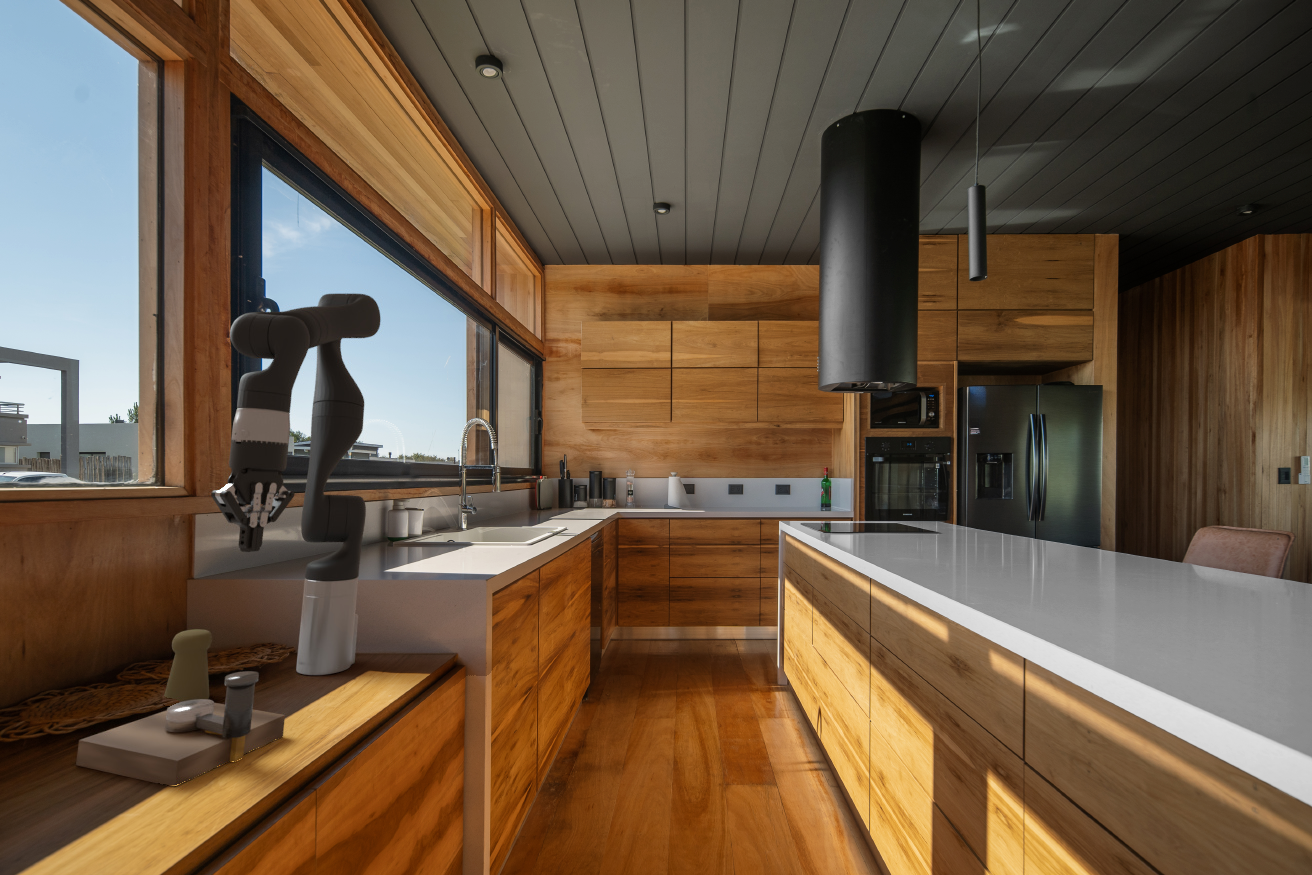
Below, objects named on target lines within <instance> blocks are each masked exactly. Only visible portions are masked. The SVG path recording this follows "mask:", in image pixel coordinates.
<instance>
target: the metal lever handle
mask: <svg viewBox="0 0 1312 875" xmlns="http://www.w3.org/2000/svg"><path fill="white" fill-rule="evenodd" d="M259 674H260V673H259V672H258V671H252V670H251V671H249V670H248V671H247V670H246V671H238V672H232V673H230V674H227V675H226V676H224V686H226V694H225V701H224V705H225V711H224V717H221V716H218V715H214V714H213V710H214V703H215V701H214V700H212V699H197V700H189V701H184V702H180V703H176V704H174V705H172V706H170V707H167V709H166V710H167V715H166V724H165V730H166V731H169V732H186V731H192V730H196V729H200V728H201V729H205V730H208V731H212V732H216V733H219V734H222V737H224V738H237V737H241V736H244V735H247V734H248V733H250V730H251V720H252V710H254V709H253V708H254V699H255V698H254V696H255V690H256V689H255V688H256V683H257V682H259V676H260V675H259Z"/></svg>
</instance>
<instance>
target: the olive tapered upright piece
mask: <svg viewBox="0 0 1312 875" xmlns="http://www.w3.org/2000/svg"><path fill="white" fill-rule="evenodd" d="M212 642H213V635H212V632H211V631H209V630H207V629H202V628H201V629H199V628H197V629H196V628H195V629H188V630H183V631H180V632H178V633H177V634H175V636H174V637H173V639H172V642H171V648H172V651H173V652H174V658H173V660H172V663H171V664H172V666H171V668H170V673H169V677H168V679H167V683H166V687H165V692H164V695H163V697H164V696H165V697H167V698H173V699H177V700H179V701H180V702H184V701H189V700H197V699H208V700H210V687H209V686H210V685H209V666H208V649H209V648H211V645H212ZM180 702H179V703H180Z"/></svg>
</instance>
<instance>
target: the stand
mask: <svg viewBox="0 0 1312 875" xmlns="http://www.w3.org/2000/svg"><path fill="white" fill-rule="evenodd" d="M224 711H225V703H217V702H214V710H213V714H214V715H218V716H221V717H224ZM166 715H167V709H166V710H163V711H161V712H158V713H155V714H152V715H148V716H146V717H144V718H141V719H138V720H135V721H132V722H128V723H125V724H122V725H120V726H117V727H114V728H110V729H108V730H106V731H105V730H104V731H101V732H98V733H97V734H94V735H90V736H87V737H84V738H81V739H79V740H78V744H77V745H78V746H77V747H78V748H77V753H76V762H75V765H76V766H78V767H82V768H88V769H92V770H96V771H100V772H105V773H108V774H115V775H119V776H122V777H123V776H124V777H127V778H132V779H137V780H142V781H146V782H150V783H154V784H158V783H160V784H159V785H163V784H168V785H177V784H180V783H182V782H184V781H187V780H189V779H191V780H193V779H195V778H194V777H196V776H198V775H200V774H202V773H204V772H206V773H208V772H207V771H209V770H211V769H213V768H215V767H217V766H219V765H221V766H223V765H222V764H224V763H226V762H228V761H234V762H235V761H237V760H239V759H241V758H243V759H244V755H243V754H245V753H247V752H249V751H251V750H253V749H256V748H258V747H260V748H262V747H264V746H266V745H265V744H267V743H269V742H271V741H273V740H275V739H277V740H279V739H281V738H280V737H282V736H283V737H284V729H285V722H286V721H285V719H286V714H280V713H277V712H270V711H264V710H258V709H253V710H252V720H251V730H250V733H248V734H247V735H244V736H241V737H237V738H224V737H222V734H219V733H216V732H212V731H208V730H205V729H201V728H200V729H196V730H192V731H186V732H169V731H166V730H165V724H166ZM283 737H282V738H283ZM278 738H279V739H278ZM275 741H276V740H275ZM273 742H274V741H273ZM271 743H272V742H271ZM269 744H270V743H269ZM263 745H264V746H263ZM267 745H268V744H267ZM261 746H262V747H261ZM258 749H259V748H258ZM256 750H257V749H256ZM249 753H250V752H249ZM247 754H248V753H247ZM245 755H246V754H245ZM241 760H242V759H241ZM239 761H240V760H239ZM237 762H238V761H237ZM228 763H229V762H228ZM235 763H236V762H235ZM226 764H227V763H226ZM224 765H225V764H224ZM219 767H220V766H219ZM217 768H218V767H217ZM215 769H216V768H215ZM213 770H214V769H213ZM211 771H212V770H211ZM209 772H210V771H209ZM204 774H205V773H204ZM202 775H203V774H202ZM200 776H201V775H200ZM198 777H199V776H198ZM192 778H193V779H192ZM196 778H197V777H196ZM189 781H190V780H189ZM187 782H188V781H187Z"/></svg>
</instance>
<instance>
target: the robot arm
mask: <svg viewBox="0 0 1312 875" xmlns="http://www.w3.org/2000/svg"><path fill="white" fill-rule="evenodd" d="M380 326H381V312H380V307H379V306H378V303H377V301H376V300H375V299H374V298H373V297H372V296H370V295H368V294H365V293H326V294H324V295H323V294H322V296H321V297H320V299H319V301H318V303H317V305H316V306H314V305H313V306H304V307H298V308H294V309H289V310H285V311H258V312H257V311H254V312H253V311H252V312H246V313H244V314H242V315H240V316H238V317H237V318H236V319H235V320H234V321H233V323H232V325H231V326H230V329H229V330H230V331H229V338H230V342H231V344H232V346H233V347H234V348H235V350H236V351H237V352H238V353H240V354H241V355H244V356H245V357H248V358H253V359H264V360H265V359H266V360H272V361H271V362H270V364H269V365H268V366H267V368H264V369H261V370H257V371H251V372H247V373H244V374H243V375H242V376H241V378H240V381H239V385H238V386H239V387H238V394H237V403H236V404H237V405H236V406H237V407H236V408H237V409H236V411H235V416H234V419H233V425H232V430H231V431H232V432H231V442H230V449H229V450H230V451H229V452H230V453H229V459H228V460H229V461H228V467H229V468H230V469H231V473H230V475H229V477H228V478H227V484H225V486H224V487H222V488H221V489H219V490H218V489H217V490H216V489H215V490H212V491H211V492H210V493H211V494H210V496H211V498H212V499H213V501H214V502H215V504H216V505H217V507H218V508H219V510H220V511H221V513H222V515H223V516H224V518H225V520H226V521H227V523H229V524H234V525H237V526H239V536H238V537H239V538H238V544H237V545H238V548H239V550H240V552H243V553H254V552H259V551H260V549H261V548H262V545H263V539H264V538H263V537H264V528H265V527H266V526H267V524H270V523H275V522H276V521H277V520H278V519H279V517H280V516H281V515H282V514H283V512H284V511H285V509H286V508H287V507H288V505H289V504H290V503H291V501H292V500H293V498H294V497H295V496H296V495H295V492H294V491H293V490H288V489H287V488H286V487H285V486H284V478H283V475H282V474H283V472H284V471H285V470H286V469H287V464H288V453H289V444H290V435H291V434H290V433H291V420H290V419H291V418H290V415H291V414H290V413H291V407H292V406H291V405H292V393H293V388H294V385H295V383H296V380H297V377H298V375H299V371H300V369H301V367H302V365H303V363H304V361H305V359H306V356H307V354H308V351H309V350H310V349H314V348H315V347H316V368H315V370H316V372H315V382H314V392H313V393H314V394H313V400H312V401H313V402H312V410H311V424H310V425H311V426H310V450H309V460H308V461H309V462H308V471H307V476H306V478H307V479H306V485H305V492H304V498H303V504H302V506H303V507H302V512H301V522H300V523H301V524H300V528H301V531H300V532H301V536H302V539H303V541H305V542H307V543H321V544H322V543H342V545H341V547H340V548H339V549H338V550H336V551H334V552H333V553H331V554H329V555H327V556H325V557H321V558H319V559H316V560H313V561H310V562H309V563H308V564H306V567H305V573H304V584H303V597H302V603H301V604H302V605H301V606H302V607H301V618H300V626H299V627H300V628H299V636H298V648H297V658H296V667H295V668H296V672H297V673H298V674H302V675H308V676H323V675H331V674H335V673H339V672H344V671H345V670H348V669H349V668H350V667H351V666H352V665H353V664H355V660H356V649H357V647H356V646H357V636H358V625H359V624H358V622H359V614H357V613H356V611H357V610H356V608H357V597H358V585H359V584H358V583H359V575H360V574H359V573H360V564H361V563H360V562H361V554H362V545H363V536H364V530H365V524H366V516H367V515H366V514H367V508H366V507H367V506H366V502H365V499H364V498H363V497H362V496H359V495H352V494H351V495H350V494H349V495H346V494H325V488H326V484H327V482H328V480H329V478H330V476H331V475H332V473H333V471H334V469H335V468H336V467H337V465H338V464H339V462H340V461H342V459H343V458H344V456H345V455H346V454H347V453H348V452H349V451H350V449H352V447H353V446H354V445H355V444H356V443H357V441H358V439H359V438H360V436H361V434H362V433H363V428H364V414H365V398H364V396H363V393H362V391H361V389H360V387H359V386H358V384H357V382H356V381H355V379H354V378H353V376H352V375H351V373H350V372H349V370H348V369H347V367H346V365H345V362H344V360H343V358H342V357H343V356H342V350H341V349H342V348H341V346H342V345H341V344H342V339H367V338H371V337H374V336H375V335H377V333H378V331H379V329H380Z"/></svg>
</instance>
